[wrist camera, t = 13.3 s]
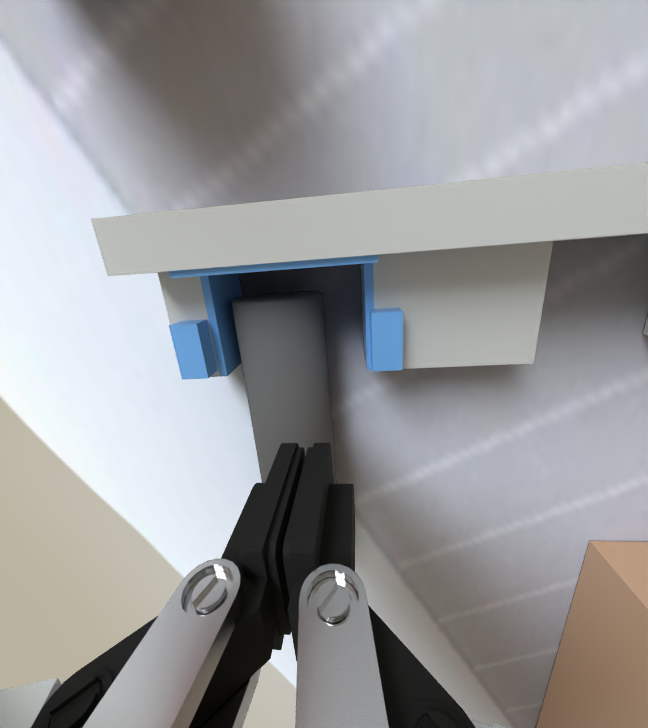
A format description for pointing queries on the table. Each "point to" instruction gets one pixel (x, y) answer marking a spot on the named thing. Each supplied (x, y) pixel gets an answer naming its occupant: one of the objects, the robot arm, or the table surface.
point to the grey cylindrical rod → (285, 371)
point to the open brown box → (603, 644)
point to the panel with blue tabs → (384, 261)
